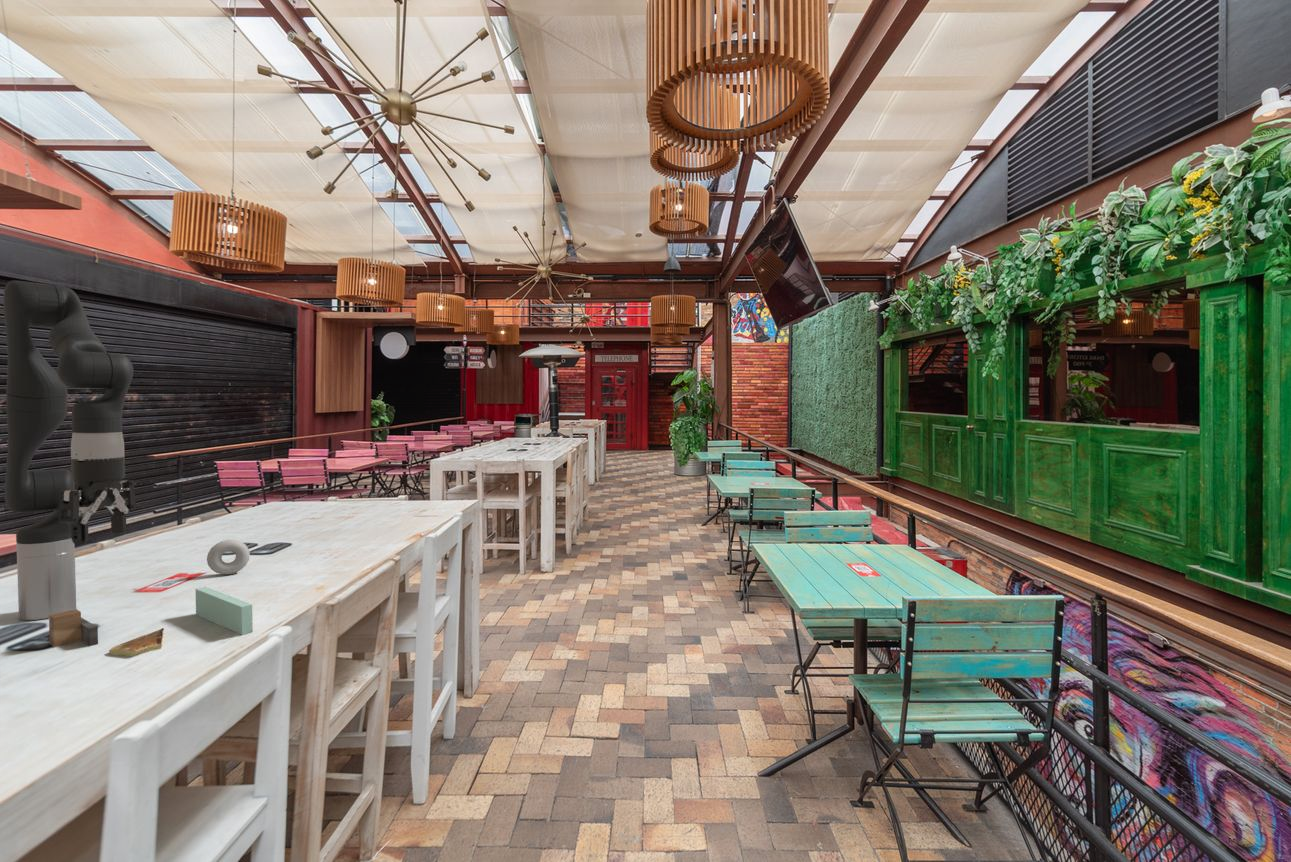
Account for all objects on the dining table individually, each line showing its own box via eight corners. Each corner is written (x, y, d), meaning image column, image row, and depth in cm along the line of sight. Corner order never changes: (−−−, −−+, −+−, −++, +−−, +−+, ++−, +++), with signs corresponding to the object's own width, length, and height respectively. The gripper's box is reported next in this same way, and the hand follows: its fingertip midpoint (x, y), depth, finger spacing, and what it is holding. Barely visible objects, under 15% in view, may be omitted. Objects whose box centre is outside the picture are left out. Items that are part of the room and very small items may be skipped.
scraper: (42, 638, 119) (41, 610, 119) (76, 630, 123) (75, 602, 123) (62, 653, 112) (61, 623, 112) (98, 644, 116) (97, 614, 116)
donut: (250, 570, 169) (249, 536, 169) (250, 573, 166) (249, 538, 166) (207, 575, 163) (206, 540, 163) (206, 578, 160) (206, 543, 160)
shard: (163, 634, 123) (163, 626, 122) (193, 637, 121) (193, 629, 121) (107, 656, 112) (106, 647, 112) (139, 660, 110) (139, 650, 110)
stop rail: (196, 614, 133) (195, 588, 133) (206, 611, 135) (205, 586, 135) (242, 635, 122) (241, 607, 121) (252, 631, 123) (252, 604, 123)
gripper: (108, 451, 118) (110, 529, 119) (41, 458, 104) (44, 547, 105) (147, 452, 119) (149, 530, 120) (86, 459, 105) (88, 547, 106)
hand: (100, 538), depth 112 cm, fingers open, 8 cm apart
